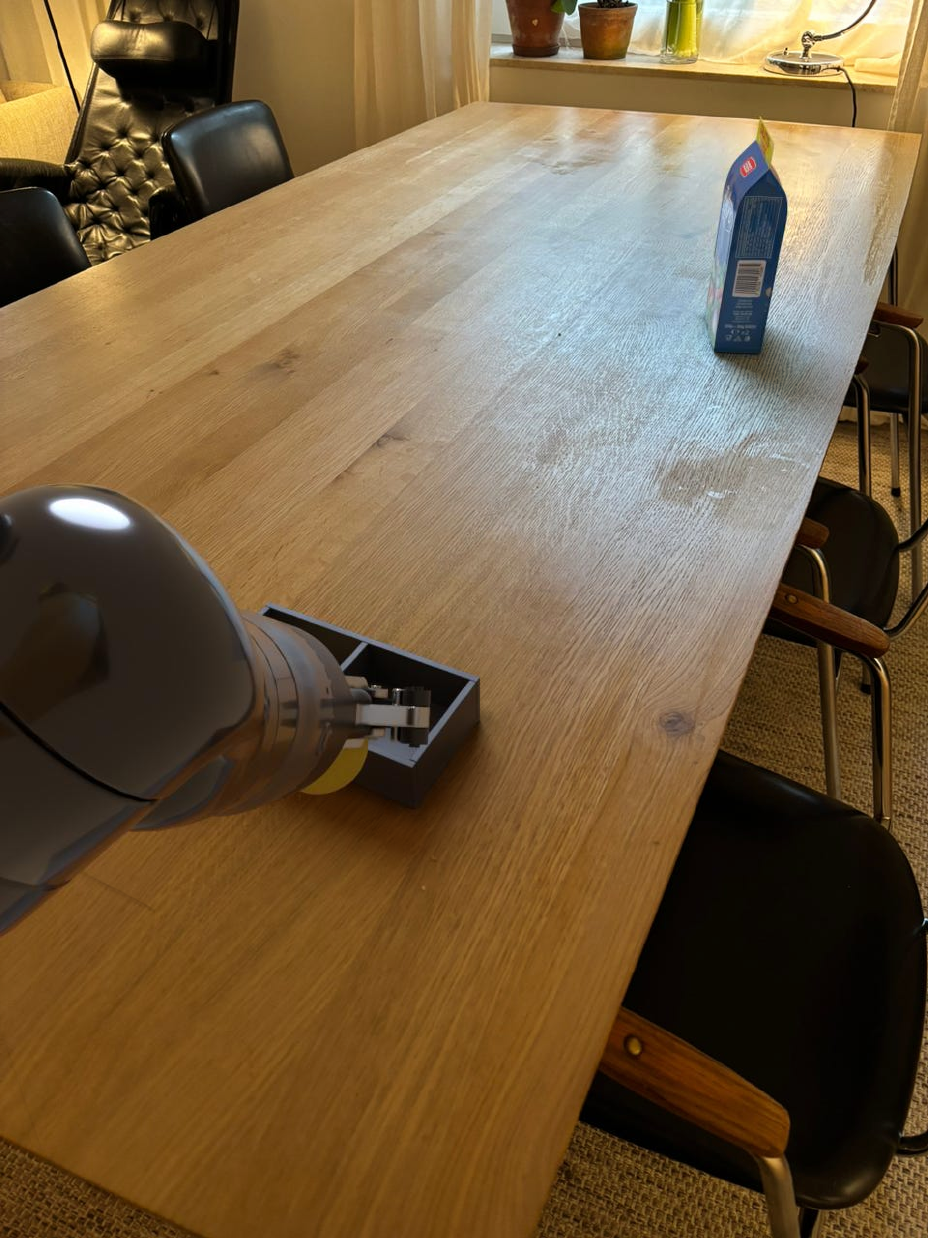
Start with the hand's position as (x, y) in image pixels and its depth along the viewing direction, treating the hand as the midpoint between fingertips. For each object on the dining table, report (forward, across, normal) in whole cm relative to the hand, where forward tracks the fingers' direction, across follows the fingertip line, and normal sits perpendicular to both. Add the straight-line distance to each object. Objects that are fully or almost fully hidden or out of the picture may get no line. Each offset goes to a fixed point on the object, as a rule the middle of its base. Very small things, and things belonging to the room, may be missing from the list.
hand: (322, 708), depth 54 cm
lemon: (+2, 0, +4) cm, 5 cm away
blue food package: (+76, -36, -51) cm, 98 cm away
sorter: (+24, +3, +1) cm, 24 cm away
